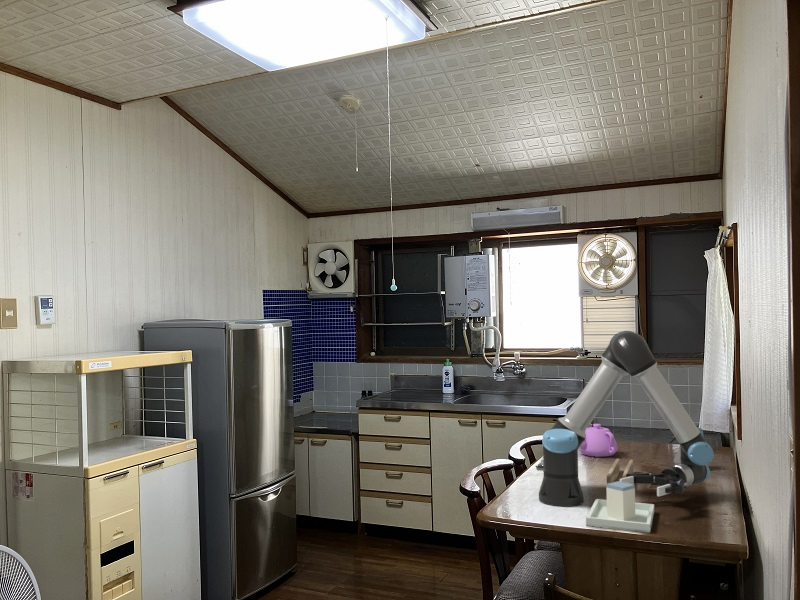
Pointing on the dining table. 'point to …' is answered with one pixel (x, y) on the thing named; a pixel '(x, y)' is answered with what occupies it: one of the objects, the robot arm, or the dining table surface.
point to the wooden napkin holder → (615, 470)
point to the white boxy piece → (620, 500)
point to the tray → (639, 523)
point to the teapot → (598, 442)
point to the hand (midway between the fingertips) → (638, 487)
